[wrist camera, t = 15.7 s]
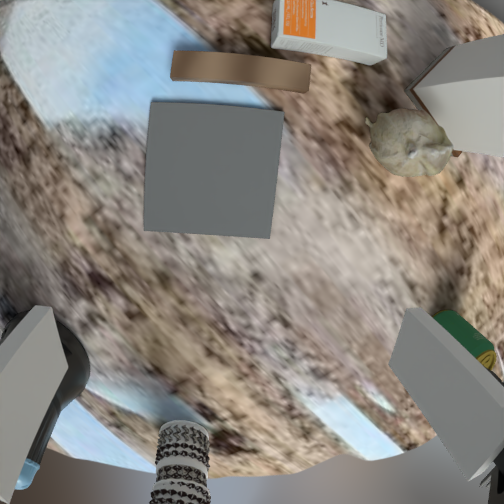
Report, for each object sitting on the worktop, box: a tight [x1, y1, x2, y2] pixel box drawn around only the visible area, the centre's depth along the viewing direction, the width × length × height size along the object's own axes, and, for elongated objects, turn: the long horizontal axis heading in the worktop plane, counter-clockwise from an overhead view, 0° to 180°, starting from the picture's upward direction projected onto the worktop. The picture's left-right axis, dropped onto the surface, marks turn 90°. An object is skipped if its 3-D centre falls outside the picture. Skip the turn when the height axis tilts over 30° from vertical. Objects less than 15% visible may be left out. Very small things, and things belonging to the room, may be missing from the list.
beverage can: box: [432, 310, 496, 370], centre depth 38 cm, size 8×8×12 cm
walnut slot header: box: [170, 51, 311, 93], centre depth 26 cm, size 14×15×2 cm
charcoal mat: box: [144, 102, 284, 239], centre depth 32 cm, size 14×14×1 cm
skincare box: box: [271, 0, 387, 65], centre depth 26 cm, size 6×4×12 cm
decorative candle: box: [149, 420, 211, 504], centre depth 34 cm, size 9×9×25 cm
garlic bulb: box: [365, 108, 454, 177], centre depth 28 cm, size 9×8×10 cm
